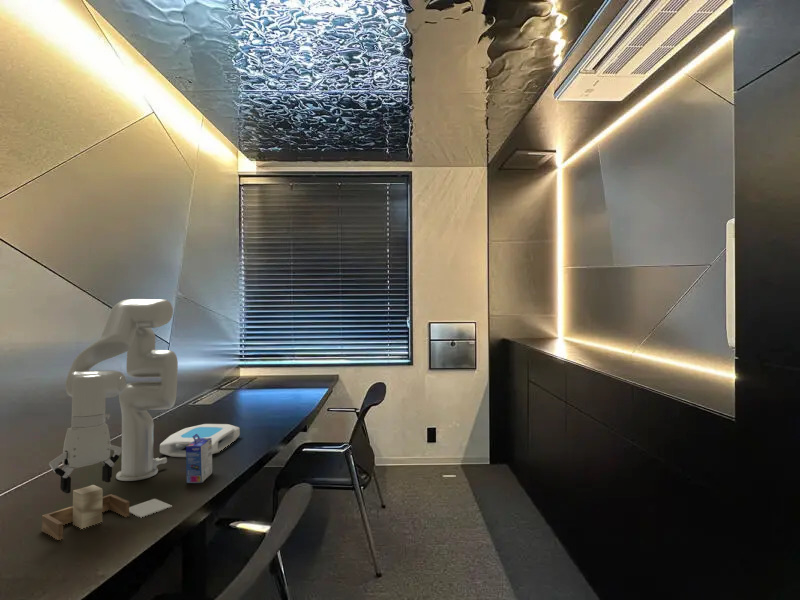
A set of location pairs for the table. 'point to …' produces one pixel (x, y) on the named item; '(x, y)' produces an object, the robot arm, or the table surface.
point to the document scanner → (213, 431)
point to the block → (87, 506)
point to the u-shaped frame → (57, 519)
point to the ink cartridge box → (198, 459)
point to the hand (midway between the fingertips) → (86, 486)
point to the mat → (148, 508)
